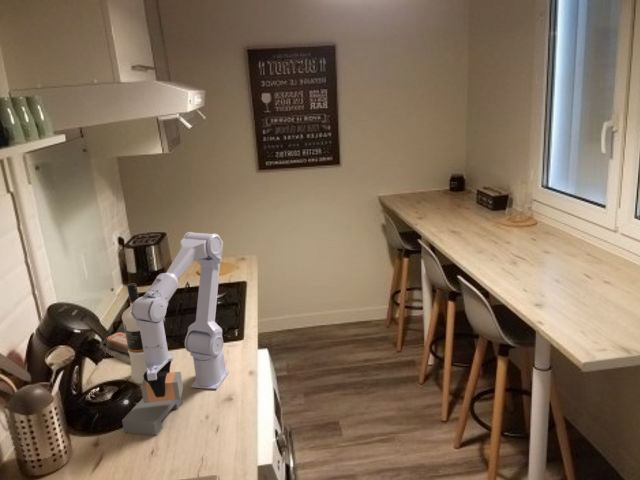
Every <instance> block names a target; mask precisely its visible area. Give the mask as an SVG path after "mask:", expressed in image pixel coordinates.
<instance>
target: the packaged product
mask: <svg viewBox="0 0 640 480" xmlns="http://www.w3.org/2000/svg"><path fill="white" fill-rule="evenodd" d="M107 337H108V338H107ZM107 337H106V338H107V343H106V352H107V353H108V354H109V355H108V354H107V355H108V356H110V355H111V356H110V357H112V356H113V357H112V358H115V359H117V360H120V361H123V362H125V363H128V364H130V365H131V361H130V356H129V353H128V345H127V340H126V334H125V332H121V331H120V332H114V333H113V334H111V335H109V336H107Z"/></svg>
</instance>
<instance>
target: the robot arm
mask: <svg viewBox="0 0 640 480" xmlns="http://www.w3.org/2000/svg"><path fill="white" fill-rule="evenodd" d="M179 248H180V249H179V251H178V252H177V254H176V255H175V257H174V259H173V261H172V262H171V264H170V265H169V268H168V269H167V271H166V272H162V273H159V274H158V275H157V276H156V278H155V279H154V281H153V283H152V284H151V286H150V287H149V288H148V289H147V290H146V292H145V293H144V294H143V296H140V297H139V296H138V297H139V298H138V299H137V300H135V302H134V303H133V306H132V311H131V315H132V317H133V318H134V319H135V320H136V322H137V325H138V326H139V328H140V334H141V339H142V345H143V350H144V356H145V365H146V368H147V372H145V373H144V375H143V377H144V380H145V381H146V382H147V383H148V384H149V385H150V386H151V388H152V390H153V392H154V394H155V396H156V397H164V396H165V380H166V375H167V373H171V372H170V370H171V365H172V364H171V363H172V362H173V361H174V359H175V355H174V354H170V353H169V350H168V343H167V337H166V331H165V330H166V329H165V326H164V318H165V316H166V314H167V308H168V306H169V301H170V300H171V298H172V297H173V295H174V294H175V293H176V292H177V289H178V288H179V286H180V285H179V279H180V278H181V276H183V274H184V273H185V272H186V271H187V269H188V268H189V267H190V266H191V264H192V263H193V262H194V261H196V262H197V263H198V264H199V266H200V273H199V285H198V295H197V305H196V316H195V321H194V322H193V323H191V324H189V326H188V327H187V334H186V336H185V337H184V338H185V339H184V348H185V350H186V351H187V352H189V353H190V354H189V355H190V356H191V357H192V359H193V366H194V374H195V381H193V383H192V384H191V386H190V387H191V388H195V389H204V390H205V389H207V390H208V389H209V390H217V389H218V388H219V387H220V385H221V384H222V383H223V381H224V380H225V379H226V377H227V376H228V374H229V373H230V371H229V370H227V368H226V361H225V354H224V352H223V347H224V339H223V329H222V327H221V326H219V325H218V323H217V322H216V314H217V313H216V312H217V301H218V294H219V293H218V290H219V281H220V271H221V263H222V262H223V252H224V251H223V249H224V241H223V240H222V238H221V237H220V235H219V234H217V233H205V232H204V233H202V232H193V231H188V232H186V233H185V234H184V235H183V237H182V239H181V240H180V242H179Z"/></svg>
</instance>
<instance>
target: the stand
mask: <svg viewBox="0 0 640 480" xmlns="http://www.w3.org/2000/svg"><path fill="white" fill-rule="evenodd" d="M182 396H183V395H181V398H180V399H178V400H169V401H160V402H150V403H144V400H143V397H142V398H141V399H140V401H138V403H136V405H134V407H133V408H132V409H131V410H130V411H129V412H128V413H127V414H126V415H125V417H123V419H121V423H122V428H123V432H124V433H128V434H137V435H138V434H140V435H146V436H157V435H158V434H159V433H160V432H161V431H162V429H163V423H162V421H163V420H164V418H165V417H166V416H167V415H168V414H169V413H170V411H171V410H178V409H179V408H180V407H181V405H182V404H183V403H184V402H183V399H182Z"/></svg>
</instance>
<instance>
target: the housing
mask: <svg viewBox="0 0 640 480" xmlns="http://www.w3.org/2000/svg"><path fill="white" fill-rule="evenodd" d="M182 379H183V378H182V372H181V371H174V372H170V373H167V375H166V380H165V396H164V397H156V396H155V394H154V392H153V390H152V388H151V386H150V385H149V384H148V383H147V382H146V381H145V380H143V382H142V384H140V390H141V395H142V398H143V400H144V403H150V402H160V401H169V400H178V399H180V398H181V396H182V394H183V390H184V386H183V380H182Z"/></svg>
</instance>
